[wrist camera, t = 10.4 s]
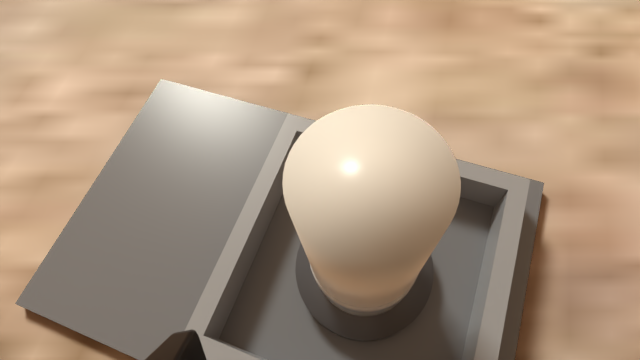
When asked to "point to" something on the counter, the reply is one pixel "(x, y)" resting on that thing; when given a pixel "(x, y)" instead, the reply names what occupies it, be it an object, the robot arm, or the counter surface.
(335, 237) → the light bulb lamp
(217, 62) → the counter surface
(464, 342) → the holder dock
